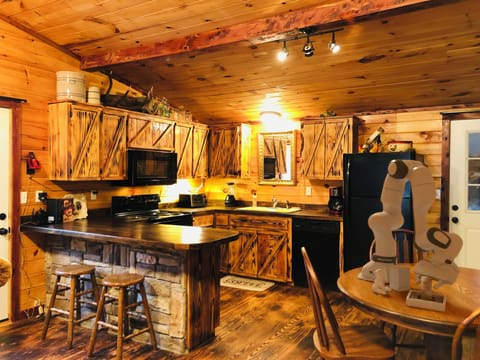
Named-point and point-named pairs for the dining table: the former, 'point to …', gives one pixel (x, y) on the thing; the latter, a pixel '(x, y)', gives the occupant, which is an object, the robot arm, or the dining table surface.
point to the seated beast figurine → (379, 283)
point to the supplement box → (400, 278)
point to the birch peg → (426, 288)
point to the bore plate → (434, 299)
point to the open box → (426, 302)
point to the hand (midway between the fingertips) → (425, 285)
